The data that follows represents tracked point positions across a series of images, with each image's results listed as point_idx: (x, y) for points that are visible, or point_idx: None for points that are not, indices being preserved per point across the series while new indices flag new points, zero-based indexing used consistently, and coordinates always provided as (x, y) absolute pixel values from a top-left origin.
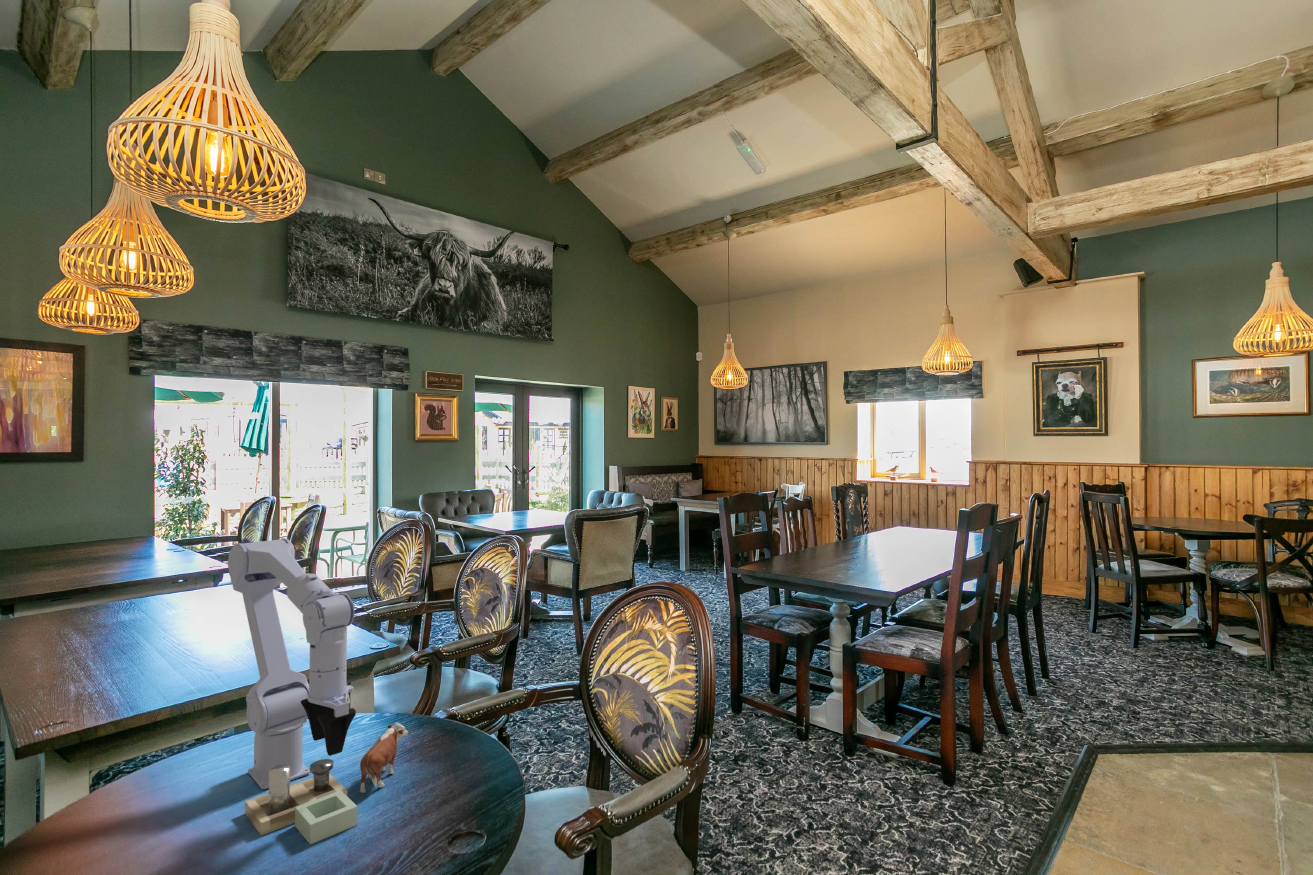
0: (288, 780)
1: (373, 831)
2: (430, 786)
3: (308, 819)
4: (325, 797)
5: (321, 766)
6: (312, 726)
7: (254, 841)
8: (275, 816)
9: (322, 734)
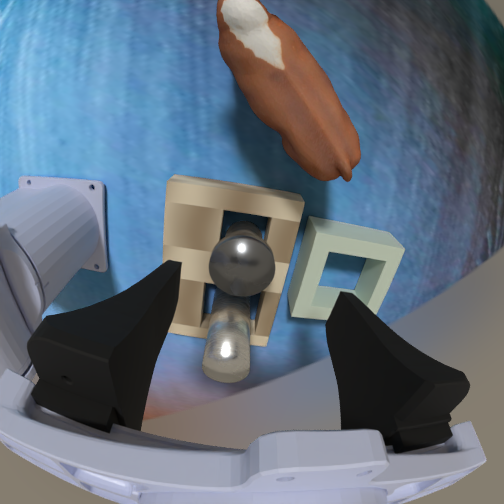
0: (246, 339)
1: (426, 228)
2: (404, 58)
3: None
4: (314, 267)
5: (256, 276)
6: (162, 344)
7: (271, 340)
8: (266, 328)
9: (176, 286)
